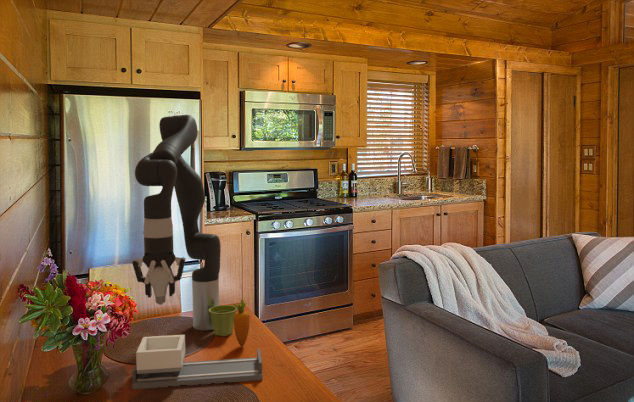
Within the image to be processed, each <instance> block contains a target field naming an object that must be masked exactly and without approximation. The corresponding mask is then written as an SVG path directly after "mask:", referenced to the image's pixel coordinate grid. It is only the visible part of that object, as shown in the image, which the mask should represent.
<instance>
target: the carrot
mask: <svg viewBox="0 0 634 402" xmlns="http://www.w3.org/2000/svg"><path fill="white" fill-rule="evenodd" d="M246 304H247V303H246V302H245V300H244V299H240V303H238V304H235V303H234V304H233V305H232V306H235V307H236V308H237V310H238V311H237V312H235V314H234V323H233V331H234V334H235V338H236V341H237V343H238V345H239V346H240V347H241V348H242V347H244V345H245V344H246V341H247V339H248V336H249V329H250V313H248V312H247V311H246V310H245V307H246Z"/></svg>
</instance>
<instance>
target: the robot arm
mask: <svg viewBox="0 0 634 402" xmlns="http://www.w3.org/2000/svg"><path fill="white" fill-rule="evenodd" d="M158 124H159V132H160V137H161V141H160V142H159V143H158V144H157V145H156V147H155V148H154V150H153V151H152V152H150V153H148V154H147V155H146V156H144V157H142V158H141V159H140V160H139V161H138V162H137V164H136V166H135V169H134V177H135V179H136V181H137V183H138V184H139V185H141V186H143V187H144V186H145V187H162V188H161V191H160V192H159V193H156V194H151V195H147V196H145V197H144V199H143V229H142V230H143V231H142V233H143V248H144V249H143V253H144V254H143V257H141V258H135V259H134V260H133V261H132V262H131V263H132V266H133V270H134V274H135V278H136V280H137V282H138V283H142V284H144V294H145V295H146V296H147V298H152V294H153V293H152V292H153V291H152V290H153V287H152V285H151V284H150V282H149V279H148V276H149V275H150V273H151V271H153V269H154V268H155V267H159V266H160V267H163V268H164V270H166V271H168V274H169V275H170V283H169V284H168V293H169V294H168V296H169V297H173V295H174V294H176V282H179V281H181V279H182V276H183V273H184V267H185V262H186V258H185V257H184V256H183V257H177V256H176V255H175V253H174V252H175V251H174V225H173V219H172V198H173V194H174V193H175V196H176V201H177V203H178V207H179V212H180V217H181V223H182V229H183V236H184V244H185V250H186V254H187V256H188V257H189V258H190V259H192V260H201V261H204V265H203V266H202V267H200V268H196V269H195V270H193V271H192V273H191V286H192V287H191V288H192V289H191V290H192V291H191V292H192V327H193V329H194V330H197V331H211V330H214V328H213V322H212V317H211V314H210V312H209V309H210V308H211V307H214V306H218V305H220V278H219V277H220V270H221V251H222V250H221V247H222V245H221V239H220V237H219V236H218V235H217V234H213V233H203V232H200V228H199V221H198V220H199V216H200V215H201V212H202V210H203V207H204V205H205V202H206V194H205V193H206V192H205V189H204V184H203V180H202V178H201V176H200V175H199V173H198V172H196V170H195V169H194V168H193V167H192V166H190V164H189V163H188V162H187V161H186V160H185V159H184V158H183V156H182V154H183V153H185V151H187V149H189V147H191V146H192V145H193V144H194V143H195V142H196V140H197V138H198V134H199V132H198V125H197V121H196V118H195V117H194V116H192V115H191V114H181V115H180V114H179V115H172V116H171V115H170V116H169V115H168V116H164V117H161V118H160V120H159V123H158ZM174 191H175V192H174ZM173 192H174V193H173ZM174 262H175V263H176V265H177V267H178V269H177V274H176V275H174V273H173V270H172V266H173V264H174ZM143 263H144V265H145V266H146V267H147V268H148V271H147V273H146V276H144V274H143V271H142V269H141V267H142V266H143ZM169 269H170V270H169Z"/></svg>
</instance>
